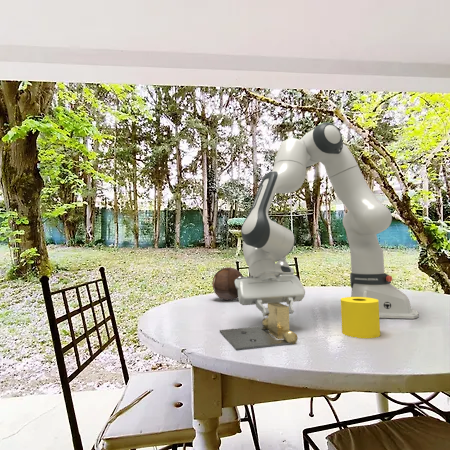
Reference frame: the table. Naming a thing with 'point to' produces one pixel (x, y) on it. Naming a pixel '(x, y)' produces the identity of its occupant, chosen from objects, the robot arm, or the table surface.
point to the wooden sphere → (226, 283)
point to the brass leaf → (278, 319)
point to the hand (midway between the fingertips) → (278, 313)
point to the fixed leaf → (256, 337)
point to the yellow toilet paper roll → (360, 317)
